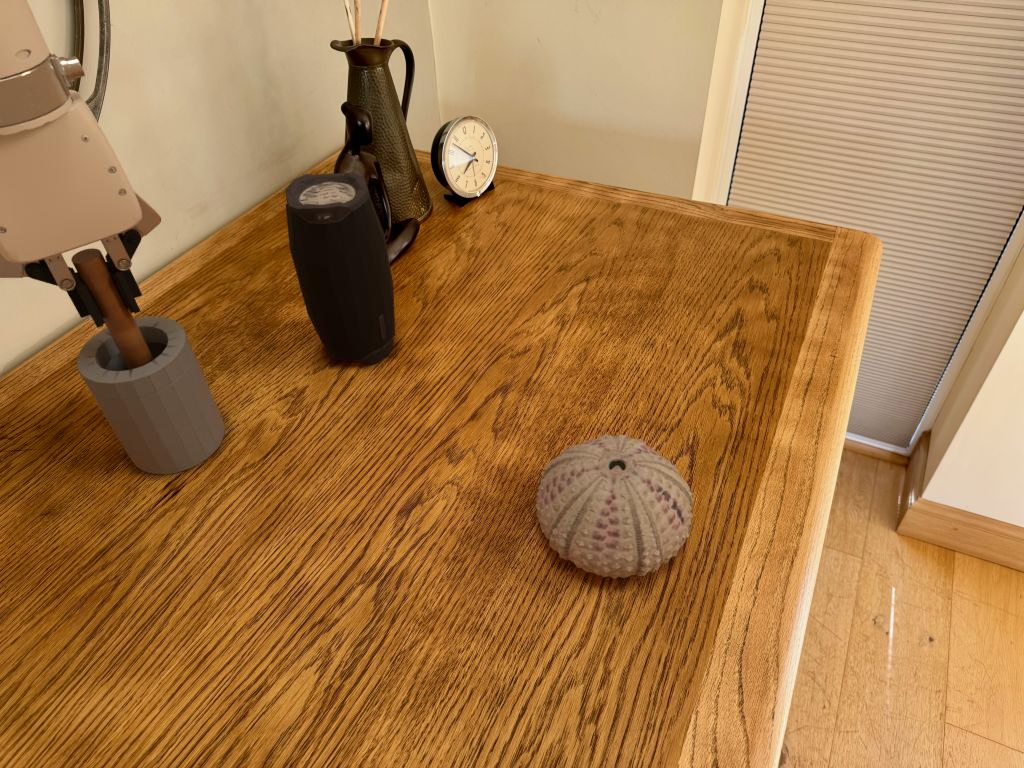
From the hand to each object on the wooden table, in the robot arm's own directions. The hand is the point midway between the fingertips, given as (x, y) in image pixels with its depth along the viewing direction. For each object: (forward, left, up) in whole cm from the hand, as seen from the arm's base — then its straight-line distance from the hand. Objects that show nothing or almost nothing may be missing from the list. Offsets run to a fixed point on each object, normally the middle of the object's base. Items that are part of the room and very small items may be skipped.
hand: (114, 310), depth 61 cm
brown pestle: (0, 0, -13) cm, 13 cm away
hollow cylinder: (0, 0, -16) cm, 16 cm away
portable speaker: (+14, +16, -16) cm, 27 cm away
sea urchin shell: (+43, -5, -16) cm, 46 cm away
